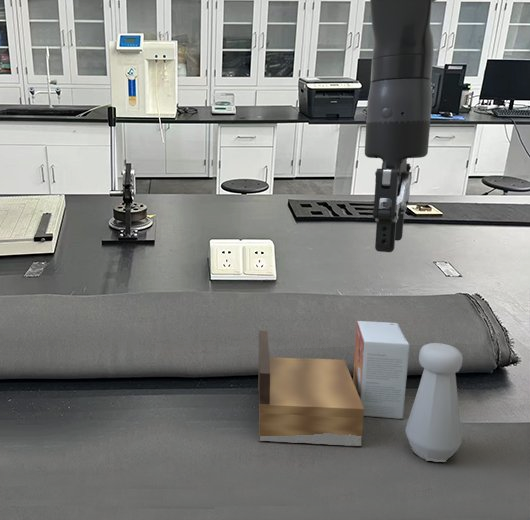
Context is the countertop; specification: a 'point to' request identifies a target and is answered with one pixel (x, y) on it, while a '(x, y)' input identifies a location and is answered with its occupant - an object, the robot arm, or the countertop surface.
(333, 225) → the countertop surface
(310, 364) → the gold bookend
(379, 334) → the small box
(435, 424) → the salt shaker
